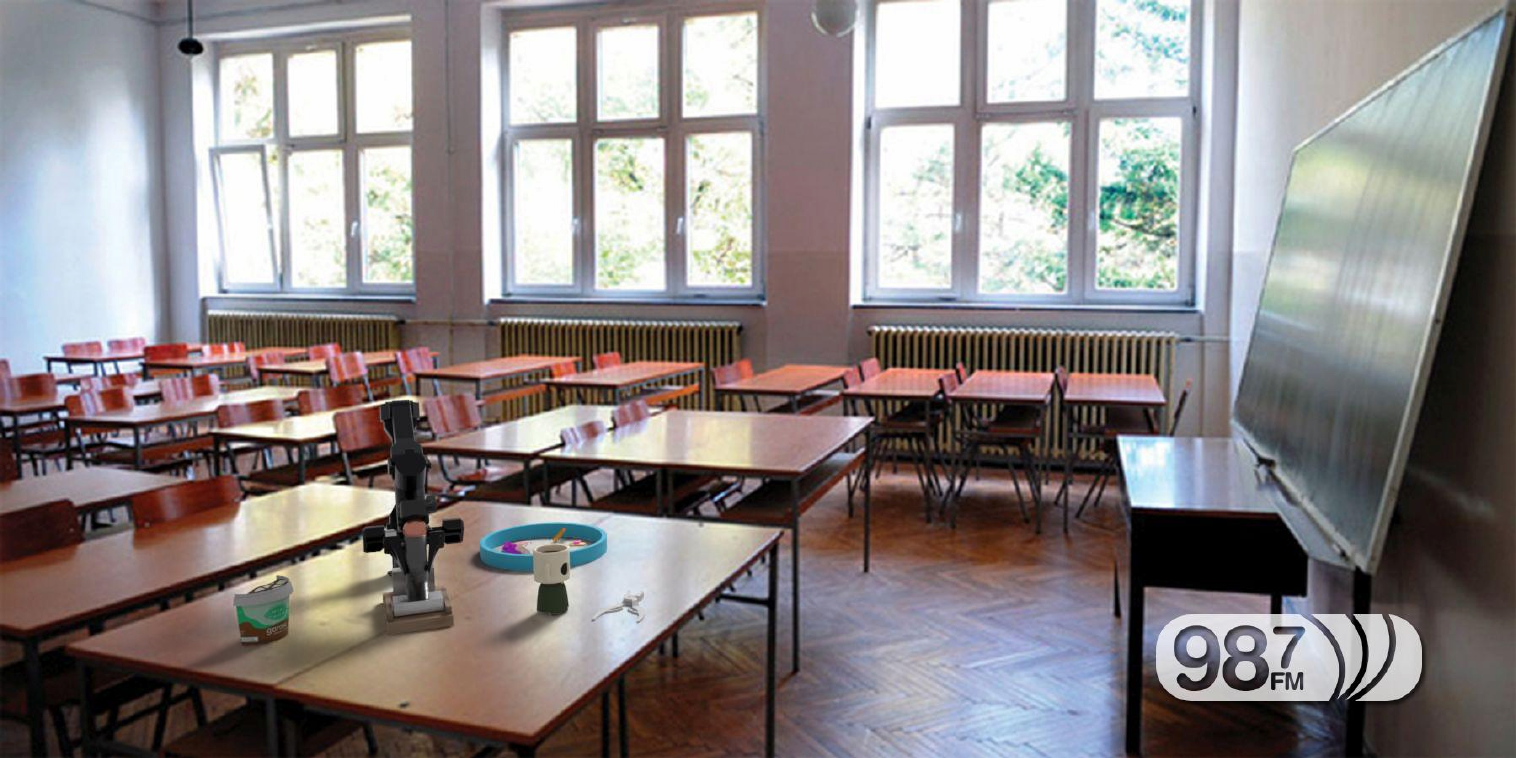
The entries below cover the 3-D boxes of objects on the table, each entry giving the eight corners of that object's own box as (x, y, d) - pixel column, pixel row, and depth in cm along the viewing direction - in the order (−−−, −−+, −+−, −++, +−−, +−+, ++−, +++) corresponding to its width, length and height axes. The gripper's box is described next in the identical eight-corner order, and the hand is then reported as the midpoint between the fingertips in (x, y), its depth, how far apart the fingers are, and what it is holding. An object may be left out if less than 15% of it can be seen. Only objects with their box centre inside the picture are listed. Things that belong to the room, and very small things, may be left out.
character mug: (566, 621, 191) (564, 556, 189) (529, 621, 191) (527, 556, 189) (575, 602, 202) (573, 540, 200) (540, 603, 201) (538, 541, 200)
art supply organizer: (453, 564, 230) (452, 540, 229) (527, 532, 258) (526, 510, 257) (564, 578, 219) (564, 552, 219) (629, 543, 247) (628, 520, 246)
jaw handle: (393, 608, 192) (388, 517, 190) (441, 602, 195) (437, 512, 193) (394, 616, 187) (390, 523, 185) (443, 610, 191) (440, 518, 189)
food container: (265, 651, 177) (262, 597, 176) (235, 648, 178) (232, 594, 177) (309, 626, 189) (307, 576, 188) (281, 624, 190) (278, 574, 189)
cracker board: (383, 602, 203) (381, 568, 202) (443, 594, 207) (442, 562, 206) (387, 634, 184) (385, 598, 183) (453, 625, 189) (452, 590, 188)
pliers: (590, 614, 191) (612, 589, 206) (591, 622, 191) (613, 597, 206) (640, 616, 190) (659, 591, 204) (640, 624, 190) (659, 599, 205)
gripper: (360, 486, 188) (364, 557, 179) (461, 477, 195) (470, 546, 186) (361, 517, 196) (365, 587, 187) (458, 508, 203) (466, 574, 195)
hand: (417, 573), depth 189 cm, fingers closed on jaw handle, 4 cm apart
